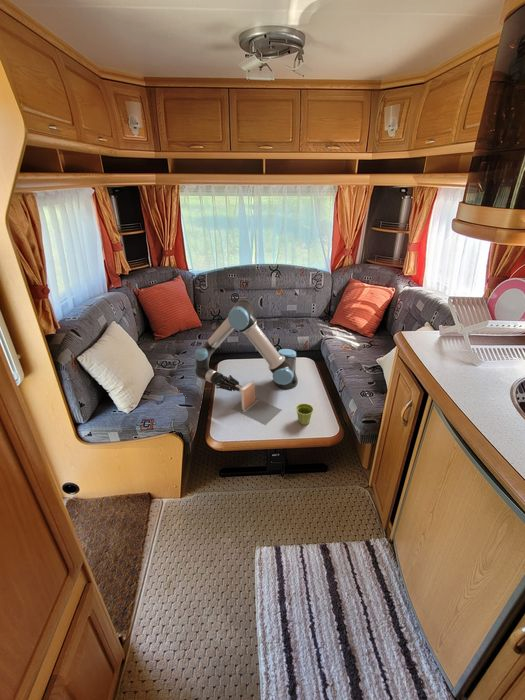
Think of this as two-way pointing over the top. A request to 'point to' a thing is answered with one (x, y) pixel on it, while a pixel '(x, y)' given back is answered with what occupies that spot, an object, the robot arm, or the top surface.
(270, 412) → the board
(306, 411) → the plant pot
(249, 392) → the tile
